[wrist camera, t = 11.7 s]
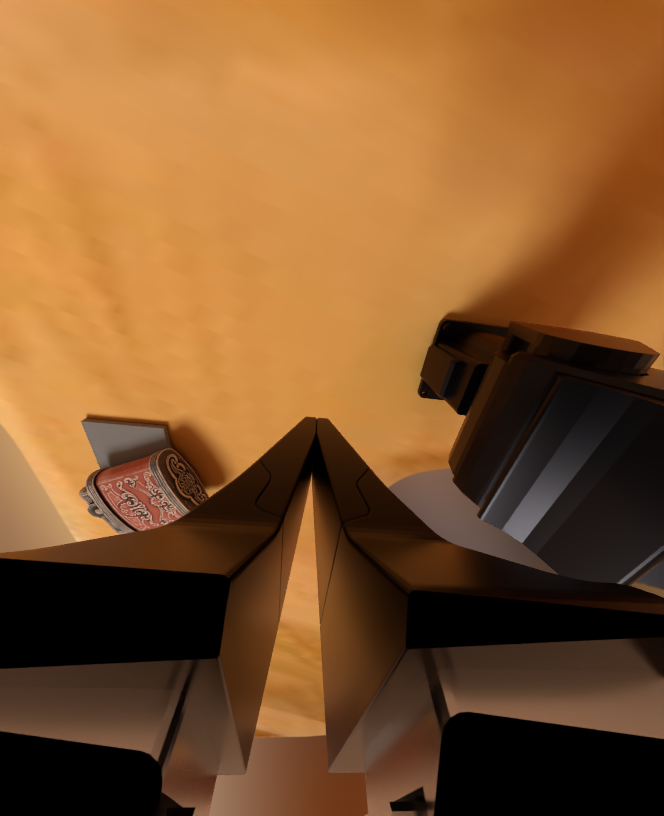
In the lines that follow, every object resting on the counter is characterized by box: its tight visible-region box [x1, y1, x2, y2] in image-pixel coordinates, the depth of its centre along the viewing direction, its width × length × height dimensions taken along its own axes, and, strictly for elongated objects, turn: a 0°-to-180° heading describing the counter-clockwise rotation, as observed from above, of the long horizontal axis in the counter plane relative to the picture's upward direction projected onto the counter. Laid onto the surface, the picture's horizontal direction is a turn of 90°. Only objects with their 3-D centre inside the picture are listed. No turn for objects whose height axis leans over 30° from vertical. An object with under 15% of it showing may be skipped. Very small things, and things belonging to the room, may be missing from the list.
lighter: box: [79, 448, 209, 534], centre depth 24 cm, size 8×3×10 cm
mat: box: [81, 419, 172, 469], centre depth 25 cm, size 7×12×1 cm, turn 173°
